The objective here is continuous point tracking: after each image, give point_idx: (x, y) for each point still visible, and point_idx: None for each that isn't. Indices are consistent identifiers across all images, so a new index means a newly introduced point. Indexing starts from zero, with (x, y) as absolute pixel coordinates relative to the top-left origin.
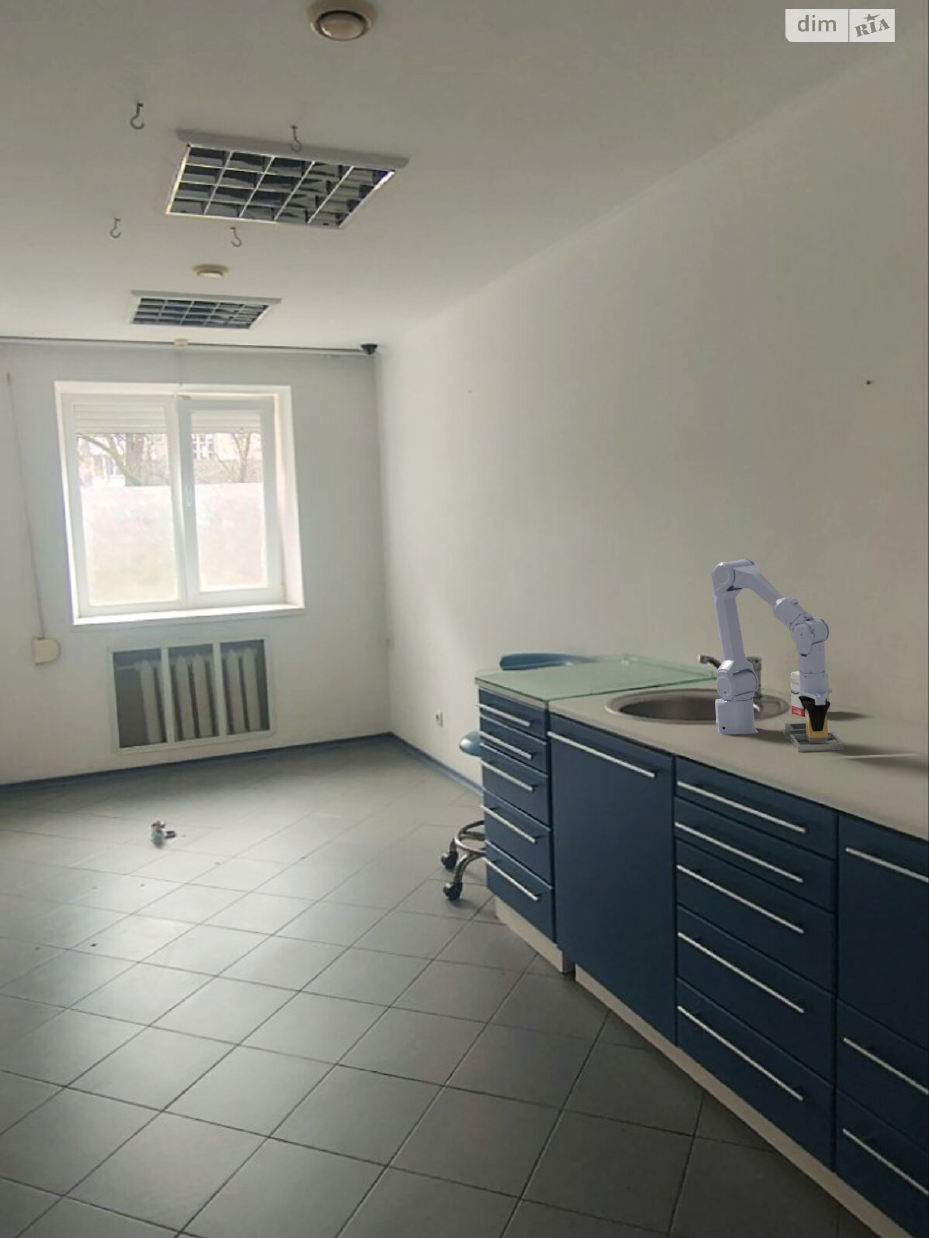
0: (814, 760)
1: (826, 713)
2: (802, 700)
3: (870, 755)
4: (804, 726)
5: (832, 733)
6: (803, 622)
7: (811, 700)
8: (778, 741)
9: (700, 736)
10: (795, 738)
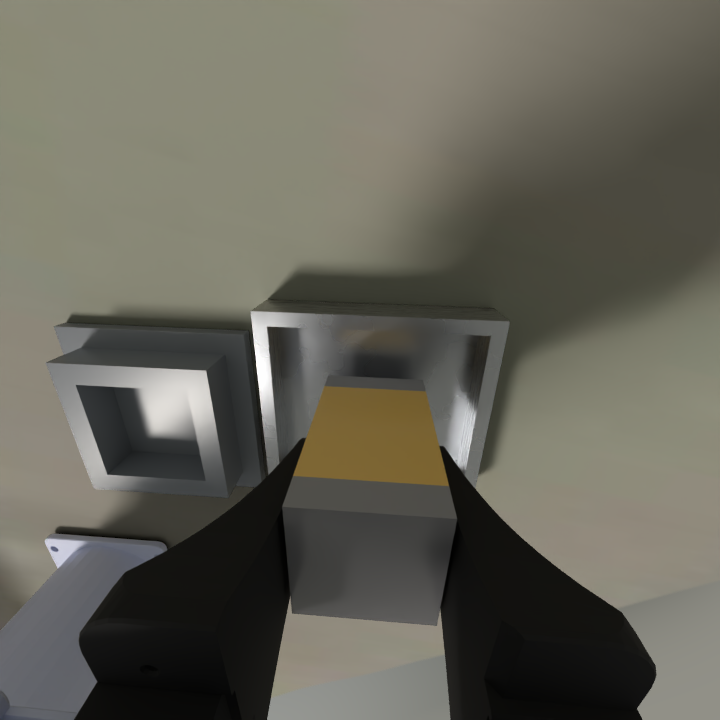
0: (570, 454)
1: (451, 507)
2: (262, 717)
3: (605, 187)
4: (99, 406)
5: (277, 323)
6: None
7: (257, 663)
8: None
9: None
10: None
